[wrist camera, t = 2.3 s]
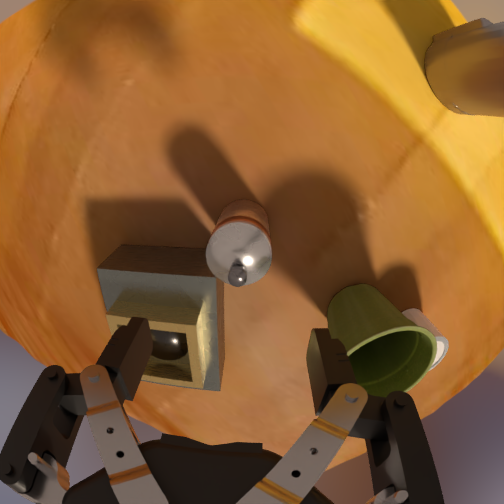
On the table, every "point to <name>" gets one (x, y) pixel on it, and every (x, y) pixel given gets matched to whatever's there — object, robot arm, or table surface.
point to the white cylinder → (424, 322)
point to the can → (240, 244)
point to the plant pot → (380, 340)
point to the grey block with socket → (169, 311)
